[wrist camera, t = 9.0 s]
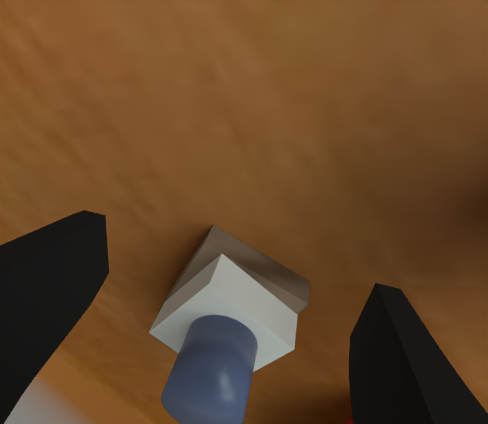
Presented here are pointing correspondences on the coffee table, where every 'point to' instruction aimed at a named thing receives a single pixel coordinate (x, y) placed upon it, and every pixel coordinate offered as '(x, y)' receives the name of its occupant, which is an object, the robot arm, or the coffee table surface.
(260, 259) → the walnut base block
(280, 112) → the coffee table surface
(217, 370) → the navy rounded cylinder
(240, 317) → the cream top block
